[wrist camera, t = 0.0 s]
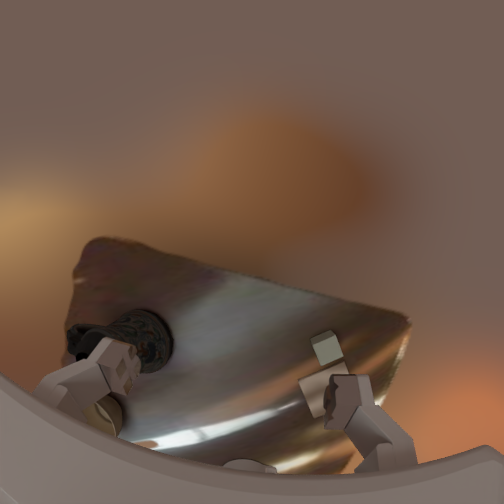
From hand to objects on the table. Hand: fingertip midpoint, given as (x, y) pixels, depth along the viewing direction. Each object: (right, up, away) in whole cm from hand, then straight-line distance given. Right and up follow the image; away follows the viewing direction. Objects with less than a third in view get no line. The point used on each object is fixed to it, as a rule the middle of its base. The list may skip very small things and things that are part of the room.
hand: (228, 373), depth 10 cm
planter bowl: (-42, -42, +55) cm, 81 cm away
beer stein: (-28, -18, +56) cm, 65 cm away
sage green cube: (+18, -17, +52) cm, 57 cm away
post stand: (+20, -29, +51) cm, 62 cm away
